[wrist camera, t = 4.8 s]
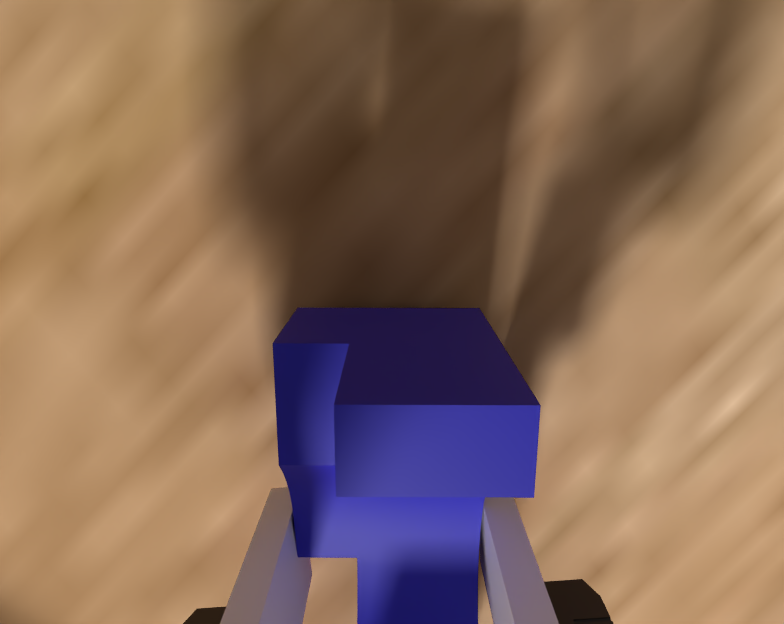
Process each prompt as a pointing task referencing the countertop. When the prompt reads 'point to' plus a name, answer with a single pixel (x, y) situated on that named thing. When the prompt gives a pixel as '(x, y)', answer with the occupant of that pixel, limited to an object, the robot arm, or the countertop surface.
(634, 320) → the countertop surface
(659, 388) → the countertop surface
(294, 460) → the cable clip
